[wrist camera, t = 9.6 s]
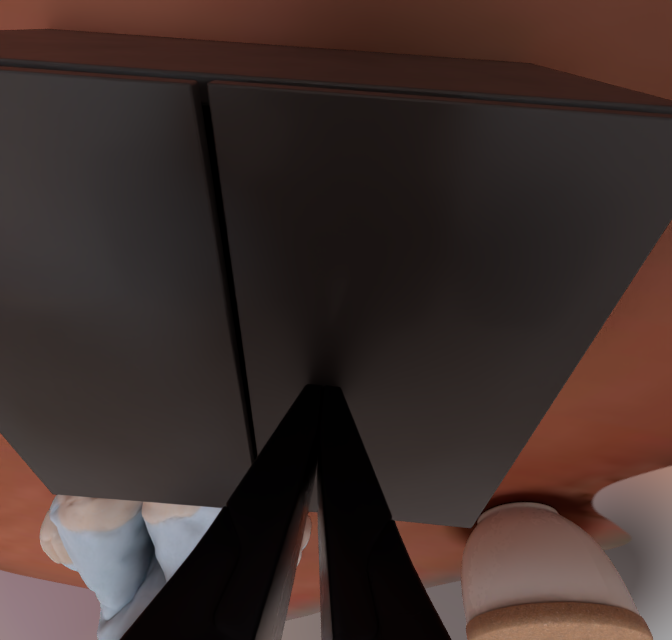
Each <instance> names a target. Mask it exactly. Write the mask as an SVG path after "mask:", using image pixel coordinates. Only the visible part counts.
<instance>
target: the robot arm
mask: <svg viewBox="0 0 672 640" xmlns="http://www.w3.org/2000/svg"><path fill="white" fill-rule="evenodd" d="M316 470H317V507H318V540H319V572H320V605H321V637H322V640H451V638H450V636H449V634H448V632H447V630H446V628H445V627H444V625H443V623H442V621H441V619H440V617H439V615H438V613H437V611H436V610H435V608H434V606H433V604H432V602H431V600H430V598H429V596H428V594H427V593H426V590H425V588H424V586H423V584H422V582H421V580H420V578H419V576H418V574H417V572H416V570H415V568H414V566H413V564H412V562H411V559H410V557H409V555H408V552H407V550H406V548H405V545H404V543H403V541H402V538H401V536H400V534H399V531H398V529H397V526H396V524H395V521H394V520H393V519H392V514H391V511H390V509H389V506H388V504H387V501H386V499H385V496H384V494H383V491H382V489H381V486H380V484H379V481H378V479H377V476H376V474H375V471H374V469H373V466H372V464H371V461H370V459H369V456H368V454H367V451H366V449H365V446H364V444H363V441H362V439H361V436H360V434H359V431H358V429H357V426H356V424H355V421H354V419H353V416H352V414H351V411H350V409H349V406H348V404H347V401H346V399H345V396H344V394H343V391H342V389H341V387H339V386H332V385H325V386H324V387H323V386H322V385H319V384H306V385H305V386H304V388H303V389H302V391H301V392H300V394H299V395H298V397H297V398H296V400H295V401H294V403H293V404H292V405H291V407H290V408H289V410H288V411H287V413H286V414H285V416H284V417H283V419H282V420H281V422H280V423H279V425H278V426H277V428H276V429H275V431H274V432H273V434H272V435H271V437H270V438H269V440H268V441H267V443H266V444H265V446H264V447H263V449H262V450H261V452H260V453H259V455H258V456H257V458H256V459H255V461H254V462H253V464H252V465H251V467H250V468H249V469H248V471H247V472H246V474H245V475H244V477H243V478H242V480H241V481H240V483H239V484H238V486H237V487H236V489H235V490H234V492H233V493H232V495H231V496H230V498H229V499H228V501H227V502H226V506H227V507H226V506H224V507H223V508H222V509H221V511H220V512H219V514H218V515H217V517H216V518H215V520H214V521H213V523H212V524H211V526H210V527H209V528H208V530H207V531H206V533H205V534H204V535H203V537H202V538H201V540H200V541H199V542H198V544H197V545H196V547H195V548H194V549H193V550H192V552H191V553H190V554H189V556H188V557H187V558H186V559H185V561H184V562H183V563H182V564H181V566H180V567H179V568H178V569H177V571H176V572H175V573H174V575H173V576H172V577H171V578H170V579H169V581H168V582H167V583H166V584H165V585H164V587H163V588H162V589H161V590H160V591H159V593H158V594H157V595H156V596H155V597H154V599H153V600H152V601H151V602H150V603H149V605H148V606H147V607H146V608H145V609H144V611H143V612H142V613H141V614H140V615H139V617H138V618H137V619H136V620H135V621H134V623H133V624H132V625H131V626H130V627H129V629H128V630H127V631H126V632H125V633H124V635H123V636H122V637H121V638H120V640H281V638H282V633H283V628H284V624H285V619H286V615H287V610H288V605H289V600H290V596H291V591H292V586H293V582H294V577H295V572H296V567H297V563H298V558H299V553H300V549H301V544H302V539H303V534H304V530H305V525H306V520H307V516H308V511H309V506H310V502H311V497H312V492H313V487H314V482H315V477H316Z"/></svg>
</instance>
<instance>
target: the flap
mask: <svg viewBox="0 0 672 640" xmlns="http://www.w3.org/2000/svg"><path fill="white" fill-rule="evenodd" d="M207 92H208V99H209V107H210V114H211V121H212V128H213V136H214V143H215V150H216V157H217V165H218V172H219V179H220V187H221V194H222V201H223V208H224V216H225V223H226V230H227V238H228V245H229V252H230V259H231V267H232V274H233V281H234V289H235V296H236V303H237V310H238V318H239V325H240V332H241V340H242V347H243V354H244V361H245V369H246V376H247V383H248V391H249V398H250V405H251V412H252V420H253V427H254V434H255V442H256V449H257V456H258V455H259V453H260V452H261V450H262V449H263V447H264V446H265V444H266V443H267V441H268V440H269V438H270V437H271V435H272V434H273V432H274V431H275V429H276V428H277V426H278V425H279V423H280V422H281V420H282V419H283V417H284V416H285V414H286V413H287V411H288V410H289V408H290V407H291V405H292V404H293V403H294V401H295V400H296V398H297V397H298V395H299V394H300V392H301V391H302V389H303V388H304V386H305V385H306V384H319V385H322V386H323V387H324V386H325V385H332V386H339V387H341V389H342V391H343V394H344V396H345V399H346V401H347V404H348V406H349V409H350V411H351V414H352V416H353V419H354V421H355V424H356V426H357V429H358V431H359V434H360V436H361V439H362V441H363V444H364V446H365V449H366V451H367V454H368V456H369V459H370V461H371V464H372V466H373V469H374V471H375V474H376V476H377V479H378V481H379V484H380V486H381V489H382V491H383V494H384V496H385V499H386V501H387V504H388V506H389V509H390V511H391V514H392V519H393V520H396V521H406V522H416V523H425V524H435V525H445V526H454V527H464V528H472V526H473V525H474V523H475V522H476V520H477V519H478V517H479V515H480V514H481V512H482V511H483V509H484V508H485V506H486V505H487V503H488V502H489V500H490V499H491V497H492V495H493V494H494V492H495V491H496V489H497V488H498V486H499V485H500V483H501V482H502V480H503V478H504V477H505V475H506V474H507V472H508V471H509V469H510V468H511V466H512V465H513V463H514V462H515V460H516V458H517V457H518V455H519V454H520V452H521V451H522V449H523V448H524V446H525V445H526V443H527V441H528V440H529V438H530V437H531V435H532V434H533V432H534V431H535V429H536V428H537V426H538V425H539V423H540V421H541V420H542V418H543V417H544V415H545V414H546V412H547V411H548V409H549V408H550V406H551V404H552V403H553V401H554V400H555V398H556V397H557V395H558V394H559V392H560V391H561V389H562V388H563V386H564V384H565V383H566V381H567V380H568V378H569V377H570V375H571V374H572V372H573V371H574V369H575V367H576V366H577V364H578V363H579V361H580V360H581V358H582V357H583V355H584V354H585V352H586V351H587V349H588V347H589V346H590V344H591V343H592V341H593V340H594V338H595V337H596V335H597V334H598V332H599V330H600V329H601V327H602V326H603V324H604V323H605V321H606V320H607V318H608V317H609V315H610V314H611V312H612V310H613V309H614V307H615V306H616V304H617V303H618V301H619V300H620V298H621V297H622V295H623V293H624V292H625V290H626V289H627V287H628V286H629V284H630V283H631V281H632V280H633V278H634V277H635V275H636V273H637V272H638V270H639V269H640V267H641V266H642V264H643V263H644V261H645V260H646V258H647V256H648V255H649V253H650V252H651V250H652V249H653V247H654V246H655V244H656V243H657V241H658V239H659V238H660V236H661V235H662V233H663V232H664V230H665V229H666V227H667V226H668V224H669V223H670V221H671V219H672V114H659V113H646V112H632V111H619V110H606V109H592V108H579V107H566V106H553V105H539V104H526V103H513V102H499V101H486V100H473V99H460V98H446V97H433V96H420V95H407V94H393V93H380V92H367V91H353V90H340V89H327V88H314V87H300V86H287V85H274V84H260V83H247V82H234V81H221V80H214V81H212V82H209V83H207ZM309 512H318V507H317V470H316V477H315V482H314V487H313V492H312V497H311V502H310V506H309Z"/></svg>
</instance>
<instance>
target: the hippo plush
mask: <svg viewBox="0 0 672 640" xmlns="http://www.w3.org/2000/svg"><path fill="white" fill-rule="evenodd" d="M221 509H222V508H215V507H203V506H191V505H178V504H166V503H154V502H141V501H129V500H117V499H104V498H92V497H80V496H67V495H57V496H56V497H55V498H54V500H53V502H52V505H51V507H50V509H49V511H48V512H47V514H46V516H45V519H44V521H43V523H42V526H41V530H40V540H41V541H40V544H41V546H42V549H43V551H44V552H45V553H46V554H47V555H48V556H49V557H50V559H51V560H52V561H54V562H56V563H62V564H63V565H64V566H66V567H68V568H70V569H71V570H74V571H78V572H79V574H80V576H81V577H82V579H83V580H84V582H85V583H86V585H87V587H88V588H89V589H90V590H92V591H94V592H95V593H96V596H97V598H98V600H99V602H100V608H101V612H100V620H99V626H98V630H97V638H98V640H120V638H121V637H122V636H123V635H124V633H125V632H126V631H127V630H128V629H129V627H130V626H131V625H132V624H133V623H134V621H135V620H136V619H137V618H138V617H139V615H140V614H141V613H142V612H143V611H144V609H145V608H146V607H147V606H148V605H149V603H150V602H151V601H152V600H153V599H154V597H155V596H156V595H157V594H158V593H159V591H160V590H161V589H162V588H163V587H164V585H165V584H166V583H167V582H168V581H169V579H170V578H171V577H172V576H173V575H174V573H175V572H176V571H177V569H178V568H179V567H180V566H181V564H182V563H183V562H184V561H185V559H186V558H187V557H188V556H189V554H190V553H191V552H192V550H193V549H194V548H195V547H196V545H197V544H198V542H199V541H200V540H201V538H202V537H203V535H204V534H205V533H206V531H207V530H208V528H209V527H210V526H211V524H212V523H213V521H214V520H215V518H216V517H217V515H218V514H219V512H220V511H221ZM311 525H312V524H311V519H310V517H309V516H307V520H306V525H305V530H304V534H303V539H302V544H301V549H300V553H299V558H298V563H297V566H298V564H299V561H300V559H301V556H302V550H303V549H304V548H305V546H306V545H307V543H308V541H309V537H310V534H311V532H310V530H311Z"/></svg>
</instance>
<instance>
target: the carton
mask: <svg viewBox="0 0 672 640" xmlns="http://www.w3.org/2000/svg"><path fill="white" fill-rule="evenodd" d="M214 80H221V81H234V82H247V83H260V84H274V85H287V86H300V87H314V88H327V89H340V90H353V91H367V92H380V93H393V94H407V95H420V96H433V97H446V98H460V99H473V100H486V101H499V102H513V103H526V104H539V105H553V106H566V107H579V108H592V109H606V110H619V111H632V112H646V113H659V114H672V101H671V100H668V99H664V98H660V97H656V96H652V95H649V94H645V93H641V92H637V91H633V90H630V89H626V88H622V87H618V86H614V85H611V84H607V83H603V82H599V81H596V80H592V79H588V78H584V77H580V76H577V75H573V74H569V73H565V72H561V71H558V70H554V69H550V68H546V67H542V66H539V65H534V64H531V63H519V62H505V61H491V60H477V59H463V58H449V57H435V56H421V55H407V54H393V53H379V52H365V51H351V50H337V49H323V48H309V47H294V46H280V45H266V44H252V43H238V42H224V41H210V40H196V39H182V38H168V37H154V36H140V35H126V34H112V33H98V32H84V31H70V30H56V29H29V30H0V433H1V434H2V435H3V437H4V438H5V439H6V440H7V441H8V442H9V444H10V445H11V446H12V447H13V448H14V449H15V451H16V452H17V453H18V454H19V455H20V456H21V458H22V459H23V460H24V461H25V462H26V463H27V465H28V466H29V467H30V468H31V469H32V471H33V472H34V473H35V474H36V475H37V476H38V478H39V479H40V480H41V481H42V482H43V483H44V485H45V486H46V487H47V488H48V489H49V490H50V492H51V493H52V494H55V495H67V496H80V497H92V498H104V499H117V500H129V501H141V502H154V503H166V504H178V505H191V506H203V507H215V508H223V507H224V506H226V502H227V501H228V499H229V498H230V496H231V495H232V493H233V492H234V490H235V489H236V487H237V486H238V484H239V483H240V481H241V480H242V478H243V477H244V475H245V474H246V472H247V471H248V469H249V468H250V467H251V465H252V464H253V462H254V461H255V459H256V458H257V449H256V442H255V434H254V427H253V420H252V412H251V405H250V398H249V391H248V383H247V376H246V369H245V361H244V354H243V347H242V340H241V332H240V325H239V318H238V310H237V303H236V296H235V289H234V281H233V274H232V267H231V259H230V252H229V245H228V238H227V230H226V223H225V216H224V208H223V201H222V194H221V187H220V179H219V172H218V165H217V157H216V150H215V143H214V136H213V128H212V121H211V114H210V107H209V99H208V92H207V83H209V82H212V81H214ZM226 507H227V506H226Z"/></svg>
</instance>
